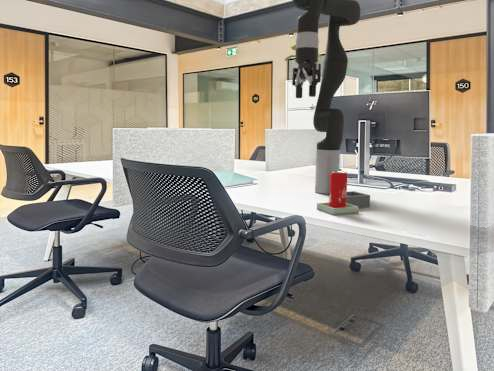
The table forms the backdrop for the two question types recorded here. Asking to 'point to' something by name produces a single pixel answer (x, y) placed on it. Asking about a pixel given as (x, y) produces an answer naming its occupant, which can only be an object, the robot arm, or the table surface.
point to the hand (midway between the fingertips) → (305, 97)
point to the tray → (337, 209)
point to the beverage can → (338, 189)
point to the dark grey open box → (358, 199)
